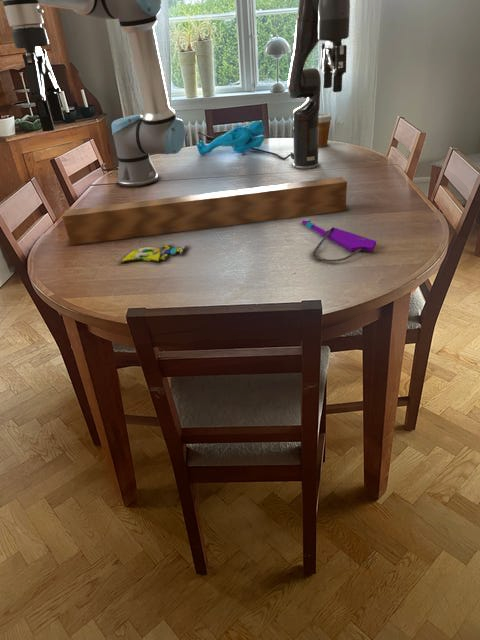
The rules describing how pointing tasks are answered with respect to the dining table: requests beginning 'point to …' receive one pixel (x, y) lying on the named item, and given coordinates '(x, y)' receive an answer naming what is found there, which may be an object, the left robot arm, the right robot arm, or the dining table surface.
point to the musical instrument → (342, 240)
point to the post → (205, 210)
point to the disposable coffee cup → (323, 129)
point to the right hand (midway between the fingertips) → (332, 89)
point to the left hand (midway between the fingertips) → (54, 125)
